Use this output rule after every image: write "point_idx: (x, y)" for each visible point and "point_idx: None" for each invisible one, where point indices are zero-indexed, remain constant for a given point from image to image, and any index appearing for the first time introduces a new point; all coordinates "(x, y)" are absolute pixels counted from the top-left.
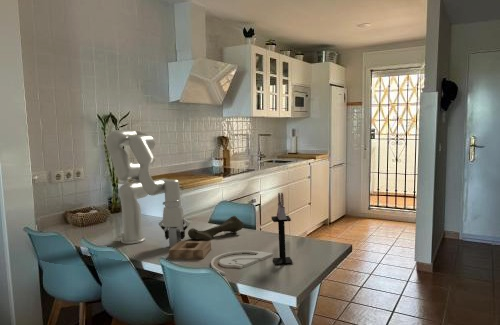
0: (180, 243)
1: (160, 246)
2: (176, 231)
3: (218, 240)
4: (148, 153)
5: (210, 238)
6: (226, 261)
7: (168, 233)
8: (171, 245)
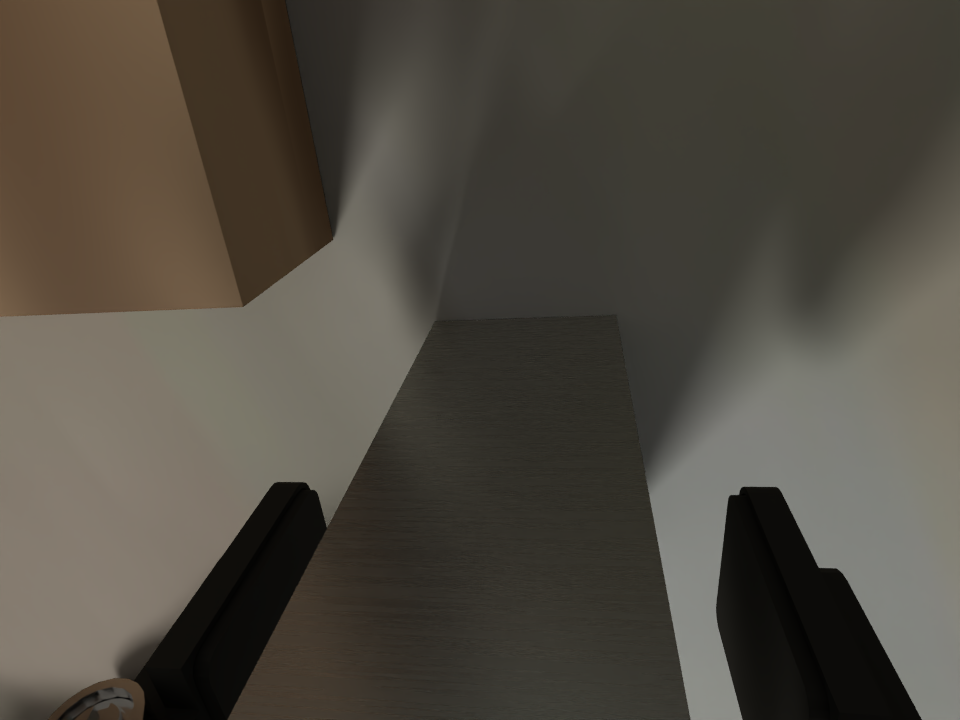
0: (28, 37)
1: (885, 402)
2: (279, 648)
3: (11, 667)
4: None
5: None
6: None
7: (757, 714)
8: (566, 340)
